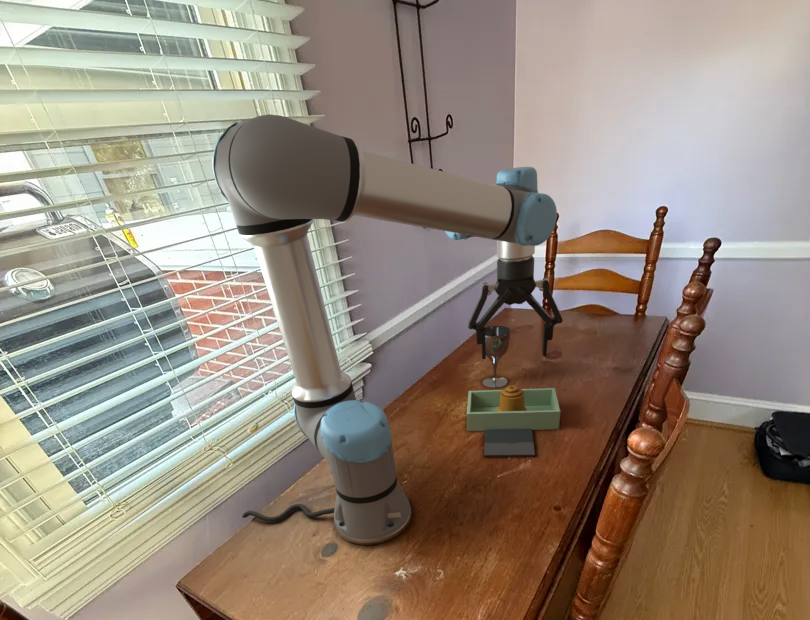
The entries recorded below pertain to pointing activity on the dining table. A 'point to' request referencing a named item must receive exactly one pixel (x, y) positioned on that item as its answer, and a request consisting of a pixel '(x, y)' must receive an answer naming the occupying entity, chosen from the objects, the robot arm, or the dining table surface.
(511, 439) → the slate tile
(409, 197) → the robot arm
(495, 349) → the metal goblet
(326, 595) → the dining table surface
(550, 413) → the tote
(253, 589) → the dining table surface
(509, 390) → the ornamental finial
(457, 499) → the dining table surface
